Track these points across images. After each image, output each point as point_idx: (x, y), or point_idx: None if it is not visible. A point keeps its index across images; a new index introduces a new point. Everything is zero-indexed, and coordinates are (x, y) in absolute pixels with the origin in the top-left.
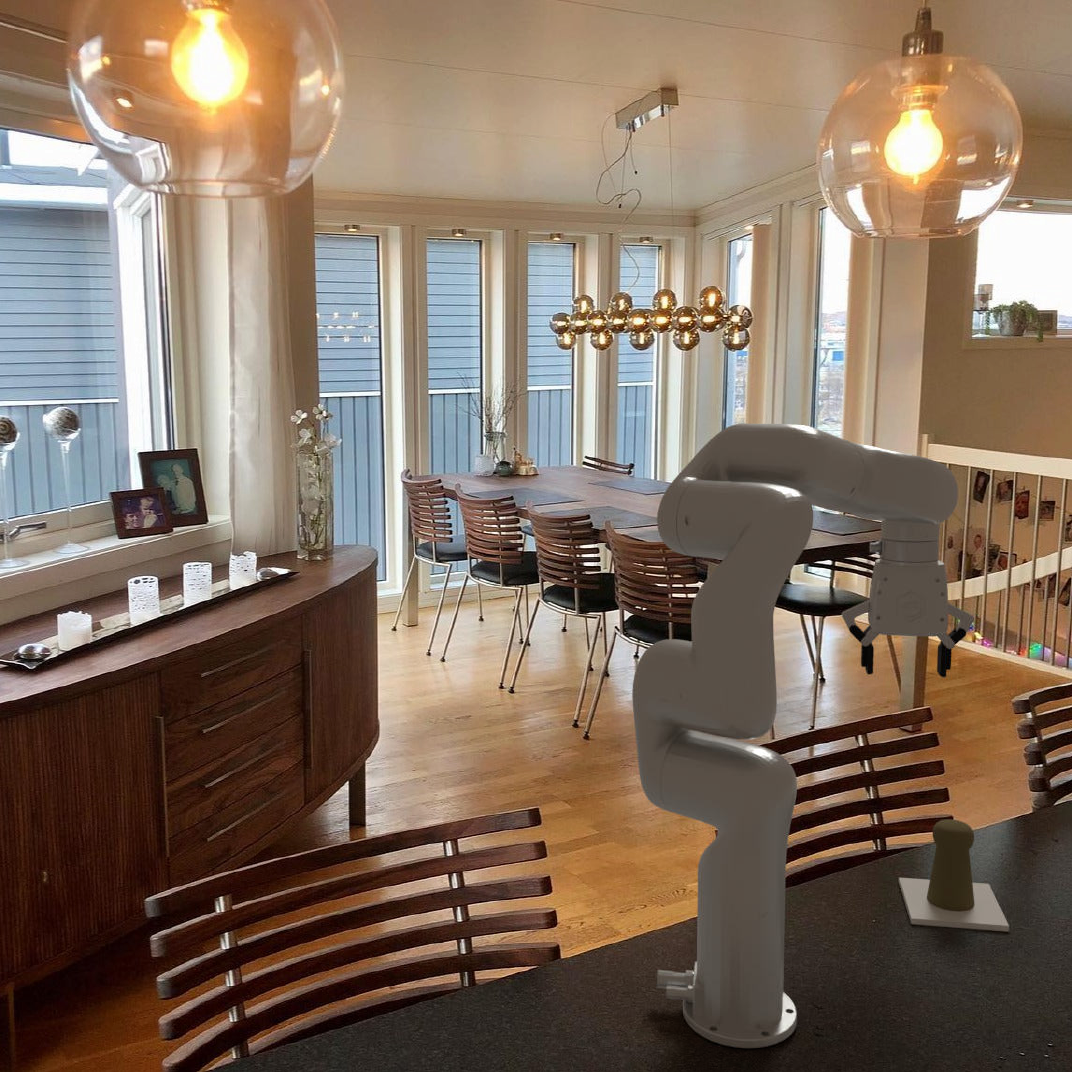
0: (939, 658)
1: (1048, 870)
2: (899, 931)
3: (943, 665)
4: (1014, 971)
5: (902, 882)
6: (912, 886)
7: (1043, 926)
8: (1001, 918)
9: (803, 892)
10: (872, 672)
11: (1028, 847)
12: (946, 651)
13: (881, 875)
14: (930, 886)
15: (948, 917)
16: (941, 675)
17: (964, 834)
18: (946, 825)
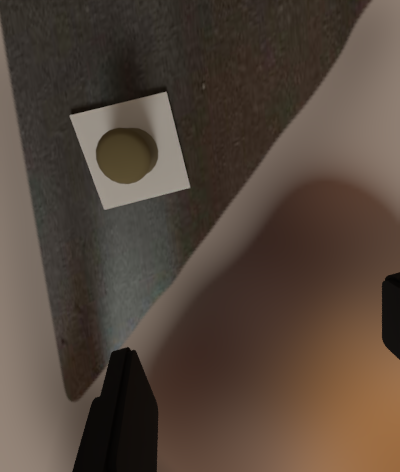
0: (140, 437)
1: (58, 274)
2: (175, 69)
3: (116, 385)
4: (50, 18)
5: (185, 177)
6: (175, 171)
7: (41, 144)
8: (79, 130)
9: (277, 125)
10: (388, 281)
11: (84, 316)
12: (86, 466)
13: (207, 197)
14: (153, 143)
15: (130, 109)
16: (130, 350)
17: (104, 136)
18: (130, 146)
